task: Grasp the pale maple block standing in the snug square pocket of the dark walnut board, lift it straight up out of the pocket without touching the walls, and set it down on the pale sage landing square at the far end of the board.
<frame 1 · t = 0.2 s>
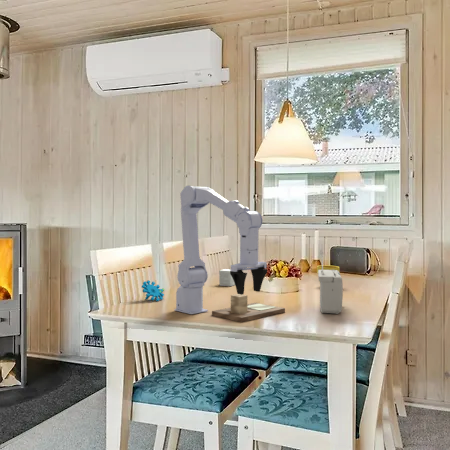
hand: (248, 292, 153), 10 cm above the table, tool pointing down, fingers open, 7 cm apart
pocket board: (249, 313, 168), on the table
product box: (227, 285, 231), on the table
stereo radio cassette player: (329, 309, 178), on the table
gear: (153, 300, 193), on the table
maple block: (238, 315, 165), resting in pocket board
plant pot: (327, 287, 227), on the table
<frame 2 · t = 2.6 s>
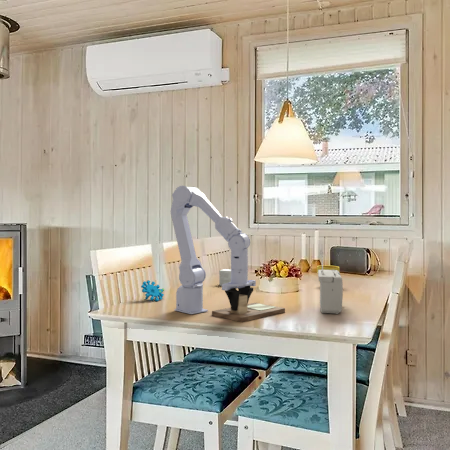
hand: (239, 309, 165), 2 cm above the table, tool pointing down, fingers closed on maple block, 4 cm apart
maple block: (238, 315, 165), resting in pocket board, touching gripper
everything else where it was.
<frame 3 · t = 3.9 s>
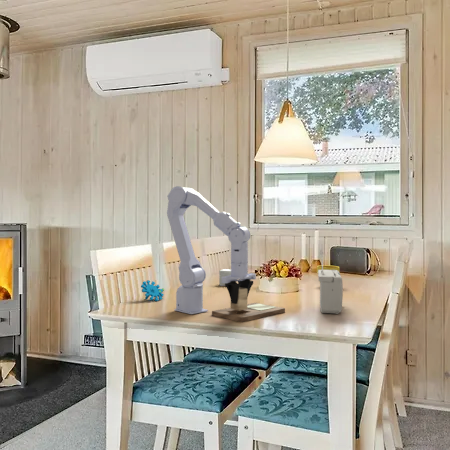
hand: (238, 302, 165), 5 cm above the table, tool pointing down, fingers closed on maple block, 4 cm apart
maple block: (238, 309, 165), point 2 cm above the table, touching gripper
everything else where it was.
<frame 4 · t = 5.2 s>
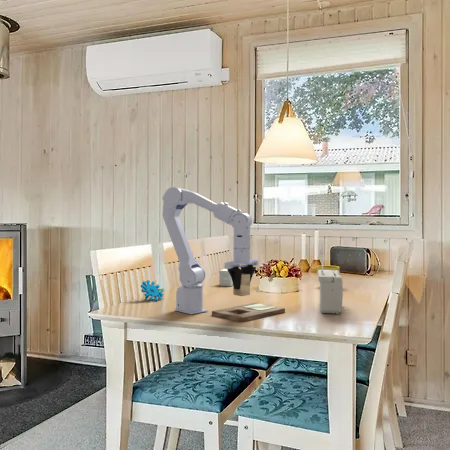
hand: (241, 288, 165), 9 cm above the table, tool pointing down, fingers closed on maple block, 4 cm apart
maple block: (241, 294, 165), point 7 cm above the table, touching gripper
everything else where it was.
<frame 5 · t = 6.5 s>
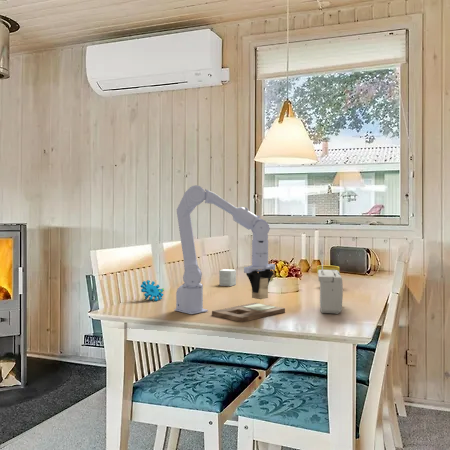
hand: (259, 291, 172), 7 cm above the table, tool pointing down, fingers closed on maple block, 4 cm apart
maple block: (259, 297, 172), point 5 cm above the table, touching gripper
everything else where it was.
when the fingers open (5 cm above the table, at t = 7.6 s): maple block drops 1 cm, resting on pocket board.
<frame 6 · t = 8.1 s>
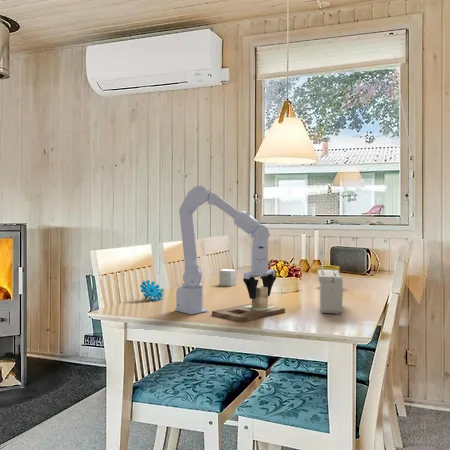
hand: (259, 297, 172), 5 cm above the table, tool pointing down, fingers open, 7 cm apart
maple block: (259, 306, 172), point 2 cm above the table, touching pocket board
everything else where it was.
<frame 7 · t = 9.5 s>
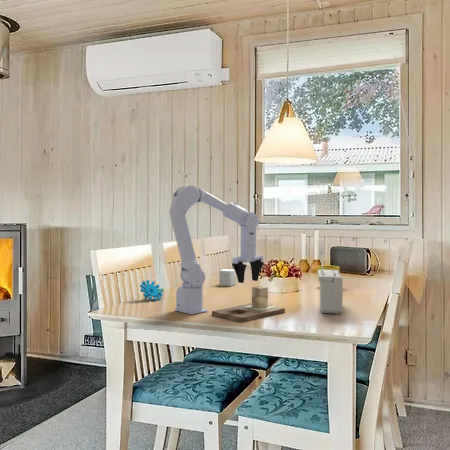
hand: (248, 281, 179), 9 cm above the table, tool pointing down, fingers open, 7 cm apart
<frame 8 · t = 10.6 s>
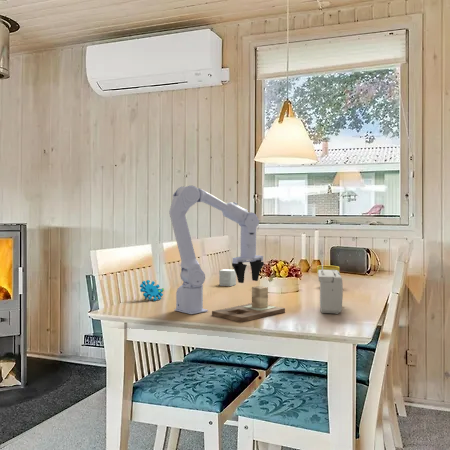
hand: (248, 281, 179), 9 cm above the table, tool pointing down, fingers open, 7 cm apart
at the end: maple block 0.0 cm from the target spot on the pocket board, point 1.6 cm above the pocket board's base; maple block tilted 0°; the gripper is holding nothing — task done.
